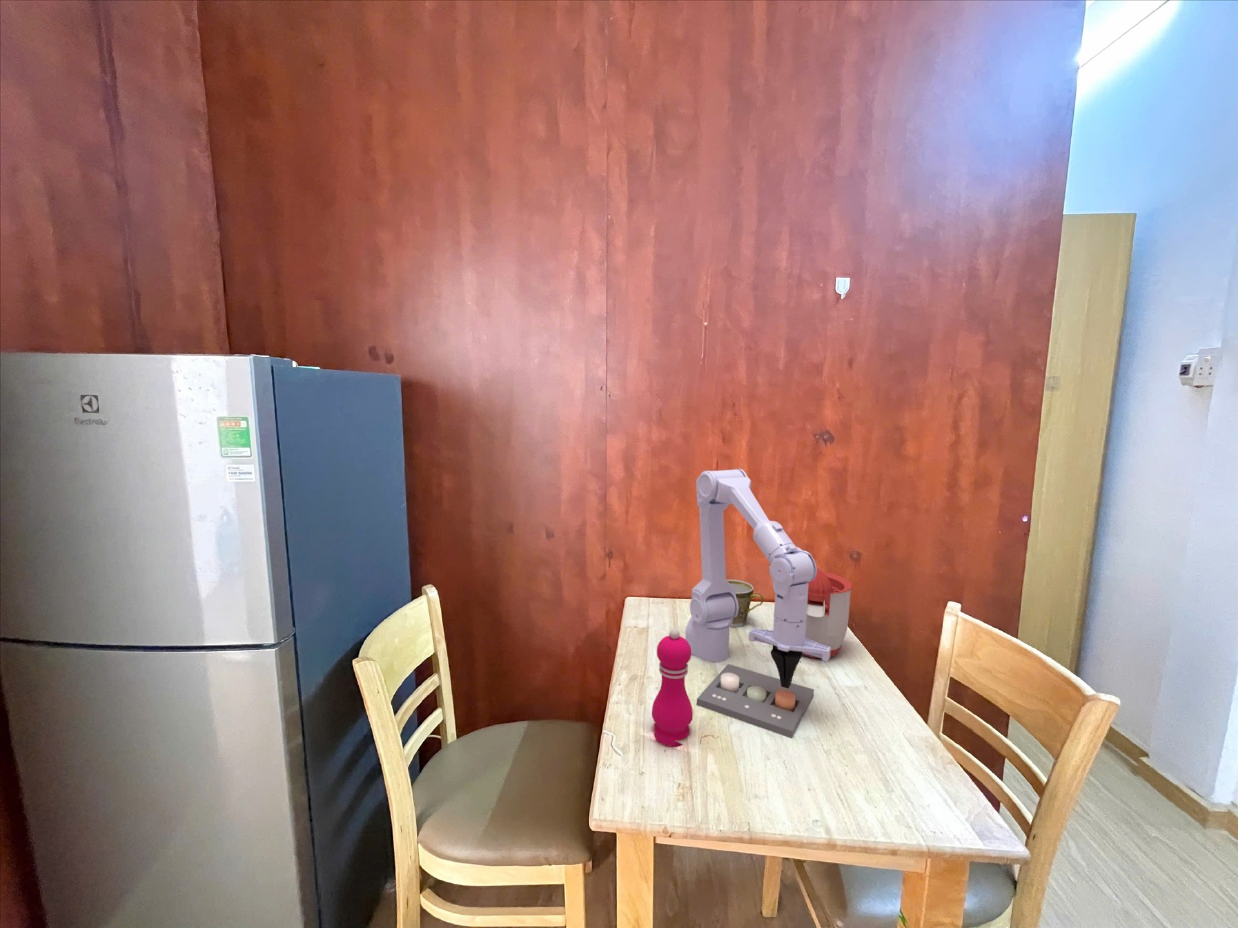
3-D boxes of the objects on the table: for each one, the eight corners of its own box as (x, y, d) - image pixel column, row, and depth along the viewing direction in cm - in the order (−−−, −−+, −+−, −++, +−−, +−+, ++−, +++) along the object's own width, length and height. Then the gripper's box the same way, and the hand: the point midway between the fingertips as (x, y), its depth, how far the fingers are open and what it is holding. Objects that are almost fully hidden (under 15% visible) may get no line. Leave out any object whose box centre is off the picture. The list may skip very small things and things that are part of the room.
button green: (743, 706, 105) (744, 692, 105) (750, 698, 108) (750, 684, 108) (762, 712, 103) (762, 698, 103) (767, 703, 106) (768, 689, 106)
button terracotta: (772, 710, 102) (773, 695, 102) (777, 701, 105) (778, 687, 105) (791, 716, 100) (792, 701, 100) (796, 707, 103) (797, 692, 103)
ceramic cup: (707, 623, 143) (708, 587, 142) (722, 611, 151) (724, 576, 150) (754, 636, 136) (756, 598, 134) (768, 623, 144) (770, 587, 143)
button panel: (696, 710, 104) (696, 697, 104) (727, 674, 117) (728, 662, 117) (791, 744, 94) (792, 729, 94) (813, 701, 108) (814, 688, 107)
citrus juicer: (775, 660, 124) (780, 576, 121) (780, 629, 140) (784, 554, 138) (849, 673, 119) (855, 585, 116) (845, 639, 135) (851, 562, 132)
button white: (717, 692, 108) (718, 678, 108) (724, 684, 111) (724, 670, 111) (734, 698, 106) (735, 683, 106) (741, 689, 109) (741, 675, 109)
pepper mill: (695, 728, 99) (699, 623, 96) (687, 752, 92) (691, 641, 89) (657, 719, 101) (659, 617, 98) (646, 743, 94) (648, 634, 91)
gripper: (744, 614, 101) (741, 682, 103) (826, 634, 93) (821, 707, 95) (757, 602, 107) (754, 667, 108) (834, 619, 99) (829, 689, 101)
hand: (786, 685), depth 102 cm, fingers closed
